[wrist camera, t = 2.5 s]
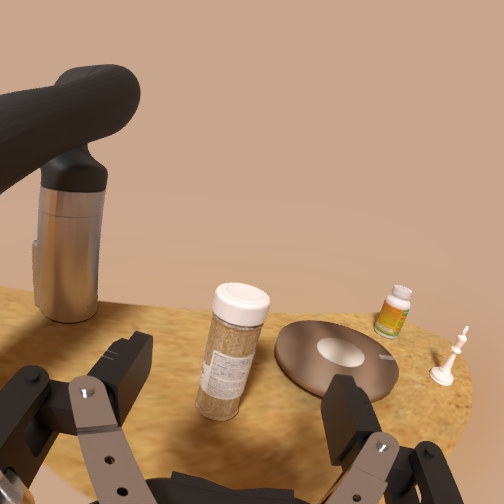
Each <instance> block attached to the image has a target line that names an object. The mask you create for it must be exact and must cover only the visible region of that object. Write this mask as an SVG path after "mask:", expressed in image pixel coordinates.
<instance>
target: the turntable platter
mask: <svg viewBox="0 0 504 504" xmlns="http://www.w3.org/2000/svg"><path fill="white" fill-rule="evenodd" d="M274 351H275V357H276V359H277V362H278V363H279V365H280V367H281V368H282V369H283V371H284V372H285V373H286V374H287V375H288V376H289V377H290V378H291V379H292V380H293V381H295V382H296V383H297V384H298V385H300V386H302V387H303V388H305V389H306V390H308V391H310V392H312V393H314V394H316V395H318V396H321V397H324V395H325V393H326V391H327V389H328V387H329V385H330V383H331V380H332V378H333V376H334V375H335V374H343V375H351V376H353V378H354V381H355V383H356V386H357V387H361V388H362V389H363V390H364V391H365V393H366V394H367V395H368V397H369V400H370V402H371V403H372V402H376V401H378V400H381V399H383V398H384V397H386V396H387V395H388V394H389V393H390V392H391V390H392V389H393V387H394V385H395V384H396V382H397V380H398V377H399V369H398V365H397V363H396V361H395V359H394V358H393V356H392V355H391V354H390V353H389V352H388V351H387V350H386V349H385V348H384V347H383V346H382V345H381V344H379V343H378V342H376V341H375V340H373V339H372V338H370V337H368V336H367V335H365V334H363V333H361V332H358V331H356V330H354V329H351V328H348V327H345V326H342V325H338V324H335V323H330V322H324V321H311V320H308V321H298V322H294V323H291V324H289V325H287V326H285V327H284V328H283V329H282V330H281V331H280V332H279V335H278V338H277V341H276V344H275V350H274Z"/></svg>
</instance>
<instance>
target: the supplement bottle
mask: <svg viewBox="0 0 504 504" xmlns="http://www.w3.org/2000/svg"><path fill="white" fill-rule="evenodd" d="M411 294H412V291H411V290H410V289H408V288H406V287H404V286H401V285H394V287H393V289H392V294H390V295H388V296H387V297H386V299H385V301H384V304H383V307H382V310H381V312H380V314H379V317H378V319H377V321H376V324H375V326H374V329H375V331H376V332H377V333H378V334H379V335H381V336H383V337H385V338H389V339H395V338H397V336H398V334H399V332H400V330H401V328H402V325H403V323H404V321H405V319H406V316H407V314H408V311H409V309H410V303H409V301H408V299H410V297H411Z"/></svg>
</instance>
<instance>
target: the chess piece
mask: <svg viewBox="0 0 504 504" xmlns="http://www.w3.org/2000/svg"><path fill="white" fill-rule="evenodd" d="M468 328H469V327H468V326H466V327H465V329H464V330H463V334H458V335H457V340H456V345H455V346H452V347H451V350H452V353H451V355H450V356H449V358H448V359H447V361H446V362H445V363H444V365H443V366H441V367H433V368H432V370H431V371H430V376H431V378H432V379H433V380H434V381H436V382H437V383H439V384H441V385H445V386H449V385H451V384H452V382H453V379H454V378H453V375H452V374H451V371H450V369H451V367H452V364H453V362H454V359H455V357H456V355H457V354H460V353H461V350H460V347H461V346H462V345H463V344H464V343H465V342H466V341H467V338H466V337H465V334H466V332H467V331H468Z"/></svg>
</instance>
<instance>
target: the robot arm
mask: <svg viewBox="0 0 504 504" xmlns="http://www.w3.org/2000/svg"><path fill="white" fill-rule="evenodd" d="M139 101H140V86H139V82H138V80H137V78H136V77H135V75H134V74H133V73H132V72H131V71H130V70H128V69H127V68H125V67H123V66H119V65H114V64H107V65H95V66H85V67H77V68H72V69H70V70H67V71H66V72H64V73H63V74H62V75H61V76H60V77H59V78H58V80H57V81H56V83H55V85H53V86H49V87H43V88H36V89H29V90H23V91H17V92H12V93H7V94H2V95H0V194H2V193H3V192H4V191H5V190H7V189H8V188H10V187H11V186H13V185H14V184H15V183H17V182H18V181H20V180H21V179H23V178H25V177H26V176H28V175H29V174H30V173H32V172H33V171H35V170H37V169H38V168H41V186H40V196H39V209H38V230H37V231H38V232H37V240H35V241H34V242H33V244H32V262H33V283H34V297H35V305H36V306H38V307H40V309H41V312H42V313H43V314H44V315H45V316H47V317H48V318H50V319H52V320H55V321H58V322H65V323H73V322H80V321H83V320H86V319H88V318H90V317H92V316H93V315H94V314H95V313H96V311H97V299H98V295H97V289H98V263H99V248H100V235H101V225H102V216H103V215H102V214H103V207H104V206H103V205H104V199H105V192H106V190H105V189H106V185H107V178H108V172H107V169H106V168H105V167H104V166H103V165H102V164H100V163H99V162H98V161H96V160H95V159H94V158H93V157H92V156H91V154H90V153H89V150H88V146H87V145H88V143H89V142H92V141H95V140H98V139H101V138H104V137H107V136H110V135H112V134H115V133H116V132H118V131H119V130H121V129H122V128H123V127H124V126H125V125H126V124H127V123H128V122H129V121H130V120H131V118H132V117H133V115H134V114H135V112H136V110H137V107H138V104H139ZM152 348H153V336H151V335H148V334H145V333H142V332H138V331H135V332H134V334H133V335H132V336H131V337H130V339H129V340H127V339H124V338H122V339H119V340H117V341H115V342H113V343H112V345H111V346H110V347H109V348H108V349H107V351H106V352H105V353H104V354H103V357H101V358H100V359H99V360H98V362H97V363H96V364H95V365H94V366H93V368H92V369H91V370H90V371H89V373H88V374H87V375H86V376H79V377H76V378H74V379H73V380H72V381H71V382H70V383H67V382H60V381H55V380H50V379H49V375H48V373H47V372H46V371H45V370H44V369H43V368H41V367H39V366H26V367H23V368H22V369H20V370H19V371H18V372H17V373H16V374H15V375H14V376H13V378H12V379H11V380H10V381H9V382H8V383H7V384H6V385H5V386H4V387H3V389H2V390H1V391H0V504H35V501H34V498H33V496H32V494H31V492H30V491H29V490H28V489H29V487H30V485H31V483H32V481H33V479H34V477H35V476H36V474H37V472H38V470H39V468H40V466H41V465H42V463H43V461H44V459H45V457H46V455H47V454H48V452H49V450H50V448H51V447H52V445H53V443H54V441H55V440H56V438H57V436H58V435H59V433H64V434H70V435H75V436H78V439H79V443H80V446H81V450H82V454H83V457H84V460H85V464H86V467H87V470H88V473H89V476H90V479H91V482H92V485H93V488H94V491H95V493H96V496H97V499H98V500H97V501H95V502H92V503H90V504H310V503H308V502H306V501H303V500H301V499H298V498H294V490H286V489H272V488H258V489H246V490H232V489H229V488H226V487H223V486H221V485H218V484H216V483H213V482H211V481H208V480H206V479H204V478H200V477H195V476H191V475H187V474H183V473H179V472H175V471H173V472H172V475H171V478H151V479H147V480H145V479H144V477H143V475H142V473H141V471H140V469H139V467H138V465H137V463H136V460H135V458H134V456H133V454H132V451H131V449H130V447H129V444H128V442H127V440H126V437H125V435H124V432H123V430H122V428H121V427H122V425H123V423H124V421H125V419H126V417H127V415H128V413H129V411H130V409H131V408H132V406H133V404H134V402H135V400H136V398H137V396H138V394H139V392H140V391H141V389H142V387H143V385H144V383H145V381H146V379H147V378H148V375H149V373H150V369H151V364H152ZM370 403H371V402H370V400H369V397H368V395H367V394H366V393H365V391H364V390H363V389H362V388H361V387H357V386H356V383H355V381H354V378H353V376H351V375H343V374H335V375H334V376H333V378H332V380H331V383H330V385H329V387H328V389H327V391H326V393H325V395H324V397H323V399H322V402H321V414H322V419H323V424H324V429H325V434H326V439H327V444H328V449H329V454H330V459H331V465H332V466H342V470H343V472H342V473H341V474H340V475H339V477H338V478H337V479H336V481H335V482H334V484H333V485H332V486H331V488H330V489H329V490H328V491H327V493H326V494H325V495H324V497H323V498H322V499H321V500H320V501H319V503H318V504H378V502H379V501H380V499H381V497H382V495H383V494H384V498H385V503H386V504H464V503H463V500H462V498H461V495H460V493H459V490H458V488H457V485H456V483H455V480H454V478H453V476H452V473H451V471H450V469H449V466H448V464H447V462H446V459H445V457H444V455H443V453H442V451H441V449H440V448H439V447H438V446H437V445H436V444H434V443H432V442H429V441H422V442H420V443H419V444H418V445H417V446H416V447H415V448H414V449H412V448H407V447H402V446H399V443H398V441H397V440H396V439H395V438H394V437H393V436H392V435H390V434H388V433H385V432H382V429H381V427H380V424H379V422H378V419H377V417H376V414H375V412H374V411H373V407H372V405H371V404H370ZM417 484H418V487H419V490H420V493H421V503H420V502H419V498H418V495H417V492H416V488H415V486H416V485H417Z"/></svg>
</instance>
